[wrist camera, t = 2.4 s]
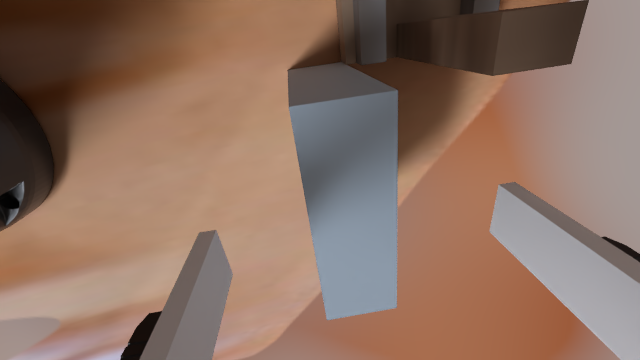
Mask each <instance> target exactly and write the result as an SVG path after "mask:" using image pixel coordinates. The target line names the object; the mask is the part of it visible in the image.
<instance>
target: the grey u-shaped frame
mask: <svg viewBox="0 0 640 360" xmlns="http://www.w3.org/2000/svg"><path fill="white" fill-rule="evenodd" d="M588 2H589V0H584V1H575V2H567V3H558V4H550V5H541V6H533V7H524V8H516V9H507V10H499V4H500V0H336V6H337V18H338V30H339V42H340V54H341V62H342V63H344V64H346V65H347V64H354V63H357V64H360V65H366V64H373V63H380V62H386V59H387V58H394V57H399V58H404V59H409V60H414V61H419V62H424V63H429V64H435V65H440V66H445V67H450V68H455V69H460V70H465V71H470V72H475V73H480V74H486V75H491V76H495V75H502V74H508V73H515V72H521V71H528V70H534V69H541V68H547V67H554V66H560V65H567V64H571V63H572V59H573V55H574V52H575V48H576V44H577V41H578V37H579V34H580V30H581V27H582V23H583V19H584V16H585V12H586V9H587V5H588ZM498 10H499V11H498Z"/></svg>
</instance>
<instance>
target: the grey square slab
mask: <svg viewBox="0 0 640 360" xmlns="http://www.w3.org/2000/svg"><path fill="white" fill-rule="evenodd" d="M288 96H289V111H290V116H291V122H292V128H293V133H294V139H295V144H296V150H297V156H298V161H299V167H300V172H301V178H302V183H303V189H304V195H305V200H306V206H307V211H308V217H309V223H310V228H311V234H312V239H313V245H314V250H315V256H316V262H317V267H318V273H319V278H320V284H321V290H322V295H323V301H324V306H325V311H326V317H327V320H331V319H337V318H342V317H347V316H353V315H359V314H365V313H370V312H376V311H381V310H387V309H392V308H396V307H397V174H398V90H397V89H395V88H393V87H391V86H388V85H386V84H384V83H382V82H380V81H378V80H376V79H374V78H372V77H370V76H368V75H366V74H364V73H362V72H360V71H358V70H356V69H354V68H352V67H350V66H348V65H346V64H344V63H342V62H338V63H332V64H325V65H318V66H311V67H305V68H298V69H291V70H288Z"/></svg>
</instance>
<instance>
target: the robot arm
mask: <svg viewBox="0 0 640 360" xmlns="http://www.w3.org/2000/svg"><path fill="white" fill-rule="evenodd" d="M53 172H54V169H53V159H52V154H51V150H50V147H49V144H48V142H47V139H46V137H45V135H44V133H43V131H42V129H41V127H40V125H39V124H38V122H37V121H36V119H35V118H34V116H33V115H32V113H31V112H30V111H29V109H28V108H27V107H26V105H25V104H24V103H23V102H22V101H21V100H20V98H19V97H18V96H17V95H16V94H15V93H14V92H13V91H12V90H11V89H10V88H9V87H8V86H7V85H6V84H5V83H4V82H2V81H1V80H0V231H2V230H4V229H6V228H8V227H10V226H12V225H13V224H14V223H16V222H17V221H19V220H20V219H22V218H23V217H25V216H26V215H28V214H29V213H30V212H32V211H33V210H35V209H36V208H37V207H38V206H39V205H40V204H41V203H42V202H43V201H44V199H45V198H46V196H47V195H48V193H49V191H50V188H51V185H52V181H53ZM490 233H491V234H492V235H493V236H495V238H497V239H498V240H499V241H500V242H501V243H502V244H503V245H504V246H505V247H506V248H507V249H508V250H509V251H510V252H511V253H512V254H513V255H514V256H515V257H516V258H517V259H518V260H519V261H520V262H521V263H522V264H523V265H524V266H525V267H526V268H527V269H528V270H529V271H530V272H531V273H532V274H533V275H534V276H535V277H537V278H538V279H539V280H540V281H541V282H542V283H543V284H544V285H545V286H546V287H547V288H548V289H549V290H550V291H551V292H552V293H553V294H554V295H555V296H556V297H557V298H558V299H559V300H560V301H561V302H562V303H563V304H564V305H565V306H566V307H567V308H568V309H569V310H570V311H571V312H572V313H573V314H574V315H576V316H577V317H578V318H579V319H580V320H581V321H582V322H583V323H584V324H585V325H586V326H587V327H588V328H589V329H590V330H591V331H592V332H593V333H594V334H595V335H596V336H597V337H598V338H599V339H600V340H601V341H602V342H603V343H604V344H605V345H606V346H607V347H609V349H610V350H612V351H613V352H614V353H615V354H616V355H617V356H618V357H619V358H620V359H621V360H640V254H639V253H637V252H636V251H634V250H633V249H631V248H629V247H628V246H626V245H624V244H622V243H619V242H617V241H614V240H612V239H609V238H607V237H600V236H598V235H597V234H595V233H593V232H592V231H590V230H589V229H587V228H586V227H584V226H583V225H581V224H579V223H578V222H576V221H575V220H573V219H572V218H570V217H568V216H567V215H565V214H564V213H562V212H561V211H559V210H558V209H556V208H554V207H553V206H551V205H550V204H548V203H547V202H545V201H544V200H542V199H540V198H539V197H537V196H536V195H534V194H533V193H531V192H530V191H528V190H526V189H525V188H523V187H522V186H520V185H519V184H517V183H516V182H512V183H506V184H500V185H499V186H498V191H497V196H496V202H495V207H494V212H493V217H492V222H491V227H490ZM232 275H233V273H232V271H231V268H230V265H229V263H228V260H227V257H226V255H225V252H224V249H223V247H222V244H221V241H220V239H219V236H218V233H217V231H216V230H213V231H206V232H200V233H199V234H198V236H197V239H196V241H195V243H194V245H193V247H192V249H191V251H190V253H189V255H188V258H187V260H186V262H185V264H184V266H183V268H182V270H181V272H180V275H179V277H178V279H177V281H176V283H175V285H174V287H173V289H172V292H171V294H170V296H169V298H168V300H167V302H166V304H165V306H164V309H163V311H160V312H154V313H149V314H148V315H147V316H146V317H145V319H144V320H143V321H142V322H141V323H140V324H139V325H138V326H137V327H136V329H135V331H134V333H133V335H132V337H131V338H130V340H129V342H128V346H127V347H126V348H125V350H124V351H123V353H122V355H121V359H120V360H212V356H213V352H214V348H215V344H216V340H217V336H218V332H219V328H220V324H221V320H222V316H223V312H224V308H225V304H226V300H227V295H228V291H229V287H230V283H231V279H232Z"/></svg>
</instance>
